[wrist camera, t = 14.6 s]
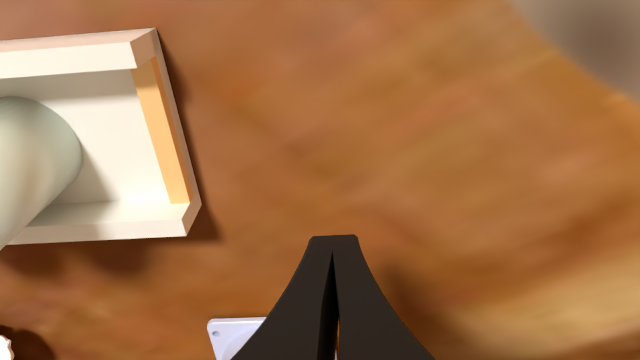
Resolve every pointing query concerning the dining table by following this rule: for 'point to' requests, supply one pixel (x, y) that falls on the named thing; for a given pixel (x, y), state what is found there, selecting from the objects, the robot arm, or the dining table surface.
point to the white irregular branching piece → (5, 349)
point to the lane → (108, 135)
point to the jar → (32, 161)
